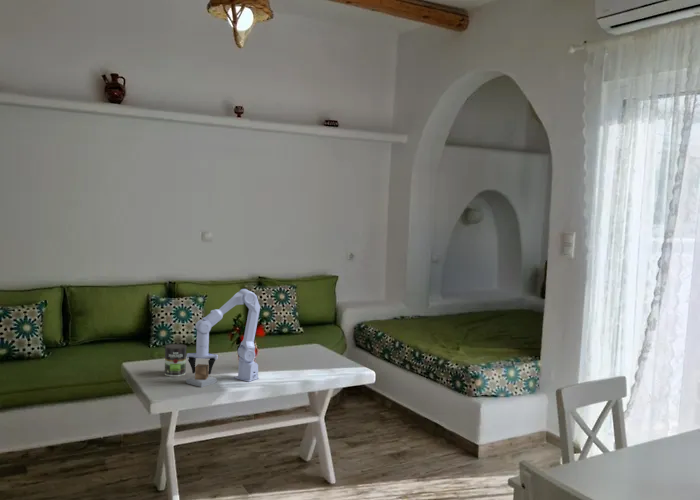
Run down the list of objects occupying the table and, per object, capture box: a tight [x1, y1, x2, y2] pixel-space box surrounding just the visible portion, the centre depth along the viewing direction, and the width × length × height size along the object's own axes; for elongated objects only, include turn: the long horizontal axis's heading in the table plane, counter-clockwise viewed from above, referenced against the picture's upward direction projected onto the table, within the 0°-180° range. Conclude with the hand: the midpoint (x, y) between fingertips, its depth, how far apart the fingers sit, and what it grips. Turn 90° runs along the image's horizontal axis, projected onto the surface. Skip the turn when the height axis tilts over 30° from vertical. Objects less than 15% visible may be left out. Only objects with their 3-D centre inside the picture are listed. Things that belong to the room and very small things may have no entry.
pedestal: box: [185, 375, 218, 388], centre depth 291 cm, size 10×10×2 cm
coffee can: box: [164, 343, 188, 378], centre depth 302 cm, size 10×10×14 cm
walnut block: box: [194, 363, 209, 380], centre depth 291 cm, size 5×5×6 cm
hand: (201, 373), depth 291 cm, fingers open, 7 cm apart
